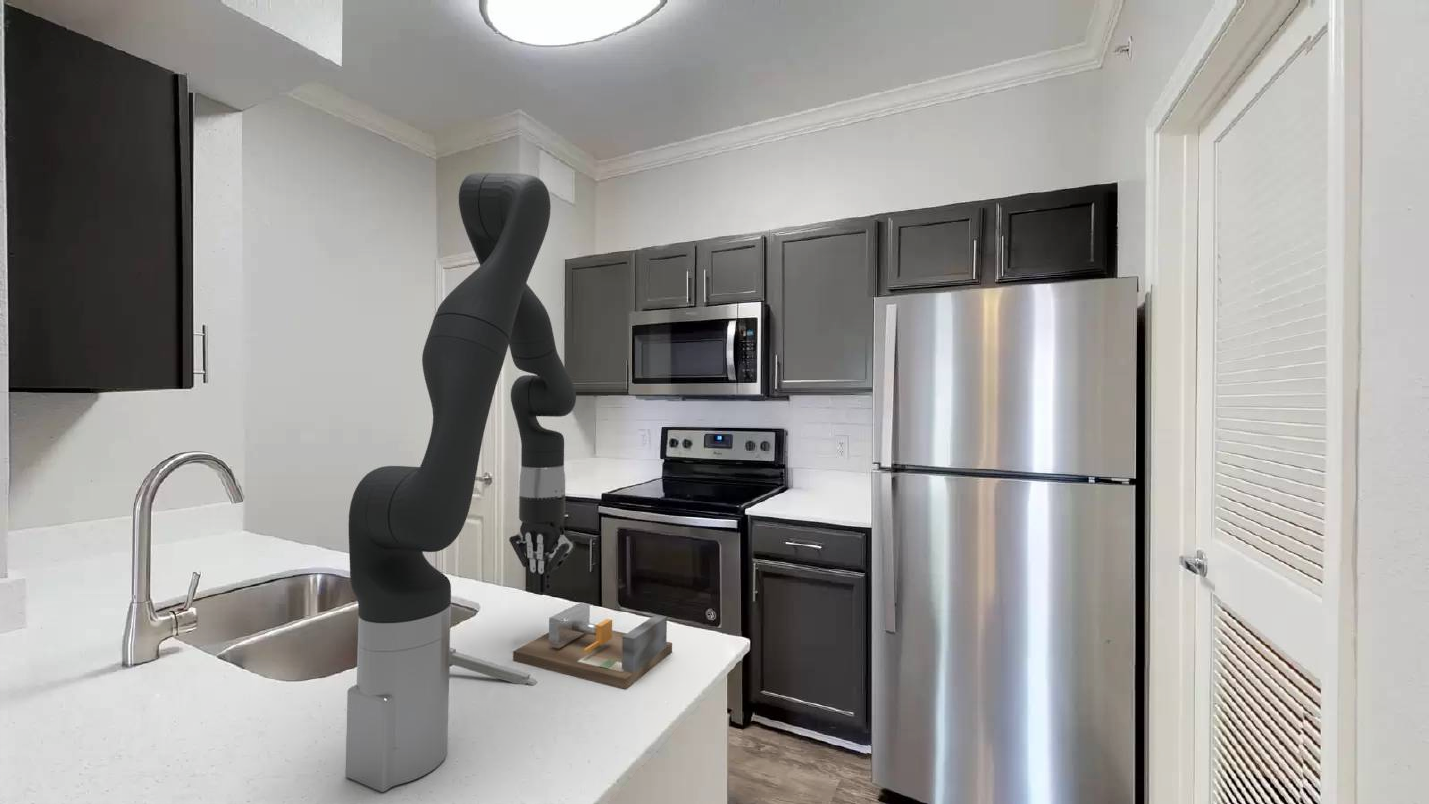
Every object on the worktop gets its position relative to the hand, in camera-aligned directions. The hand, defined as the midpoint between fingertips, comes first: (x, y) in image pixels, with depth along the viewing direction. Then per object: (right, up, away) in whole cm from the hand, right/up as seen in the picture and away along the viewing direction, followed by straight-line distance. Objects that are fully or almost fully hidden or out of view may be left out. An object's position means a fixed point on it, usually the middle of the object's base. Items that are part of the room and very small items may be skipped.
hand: (541, 593), depth 97 cm
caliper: (-6, -9, -13) cm, 17 cm away
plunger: (+8, -6, -4) cm, 11 cm away
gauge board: (+10, -9, -5) cm, 14 cm away
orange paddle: (+11, -6, -7) cm, 15 cm away
